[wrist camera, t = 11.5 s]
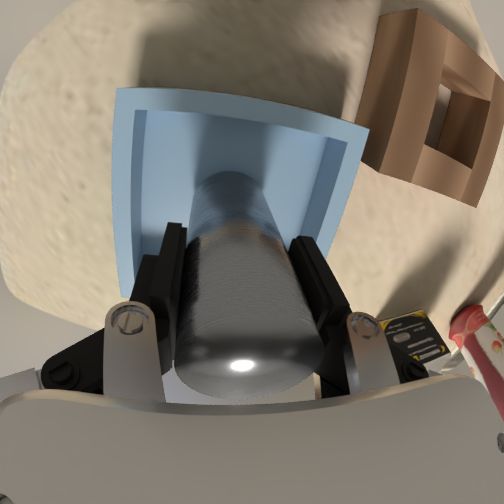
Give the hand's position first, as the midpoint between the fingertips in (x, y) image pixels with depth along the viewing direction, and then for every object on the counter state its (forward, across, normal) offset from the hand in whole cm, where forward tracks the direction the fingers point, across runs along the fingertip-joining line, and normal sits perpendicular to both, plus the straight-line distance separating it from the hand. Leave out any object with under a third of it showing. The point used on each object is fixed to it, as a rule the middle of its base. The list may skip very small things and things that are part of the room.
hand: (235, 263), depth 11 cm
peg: (+5, 0, 0) cm, 5 cm away
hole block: (+7, -12, -9) cm, 17 cm away
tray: (+7, 0, 0) cm, 7 cm away
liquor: (+7, -35, +12) cm, 38 cm away
